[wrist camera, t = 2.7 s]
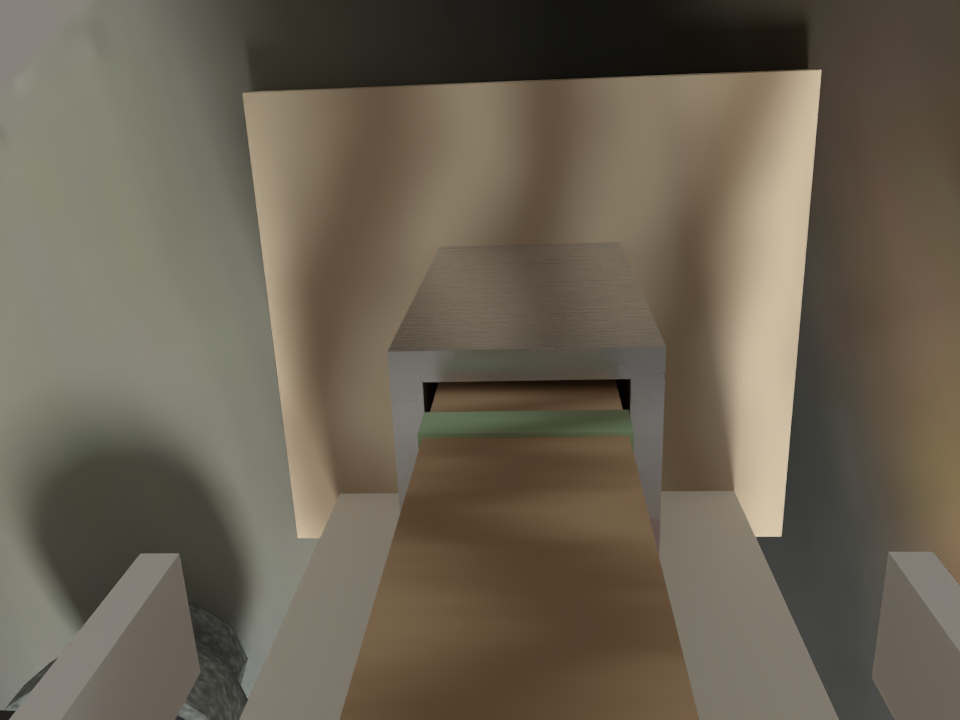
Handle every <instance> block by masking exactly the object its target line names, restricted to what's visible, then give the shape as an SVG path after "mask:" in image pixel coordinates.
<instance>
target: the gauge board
mask: <svg viewBox="0 0 960 720" xmlns="http://www.w3.org/2000/svg"><path fill="white" fill-rule="evenodd" d="M399 516H400V506H399V494H398V493H344V494H339V497H338V499H337V501H336V503H335V506H334V508H333V510H332V512H331V515H330V517H329V519H328V521H327V524H326V526H325V528H324V530H323V533H322V535H321V537H320V539H319V542H318V544H317V546H316V548H315V551H314V553H313V555H312V557H311V560H310V562H309V564H308V566H307V569H306V571H305V573H304V575H303V578H302V580H301V582H300V584H299V587H298V589H297V591H296V593H295V596H294V598H293V600H292V602H291V605H290V607H289V609H288V611H287V614H286V616H285V618H284V620H283V623H282V625H281V627H280V629H279V631H278V634H277V636H276V638H275V640H274V643H273V645H272V647H271V649H270V652H269V654H268V656H267V658H266V661H265V663H264V665H263V667H262V670H261V672H260V674H259V676H258V679H257V681H256V683H255V685H254V688H253V690H252V692H251V694H250V697H249V699H248V701H247V703H246V706H245V708H244V710H243V712H242V715H241V717H240V719H239V720H340V716H341V713H342V709H343V706H344V703H345V699H346V696H347V692H348V689H349V686H350V682H351V679H352V675H353V672H354V669H355V665H356V662H357V658H358V655H359V652H360V648H361V645H362V642H363V638H364V635H365V631H366V628H367V625H368V621H369V618H370V614H371V611H372V608H373V604H374V601H375V597H376V594H377V591H378V587H379V584H380V580H381V577H382V574H383V570H384V567H385V563H386V560H387V557H388V553H389V550H390V546H391V543H392V540H393V536H394V533H395V529H396V526H397V523H398V519H399ZM659 559H660V563H661V567H662V571H663V575H664V579H665V583H666V587H667V591H668V595H669V599H670V603H671V607H672V611H673V616H674V620H675V624H676V628H677V632H678V636H679V640H680V644H681V648H682V652H683V656H684V660H685V664H686V668H687V672H688V676H689V680H690V684H691V689H692V693H693V697H694V701H695V705H696V709H697V713H698V717H699V720H839V719H838V717H837V715H836V712H835V710H834V708H833V706H832V704H831V702H830V699H829V697H828V695H827V693H826V691H825V688H824V686H823V684H822V682H821V680H820V677H819V675H818V673H817V671H816V669H815V667H814V664H813V662H812V660H811V658H810V656H809V653H808V651H807V649H806V647H805V645H804V642H803V640H802V638H801V636H800V634H799V631H798V629H797V627H796V625H795V623H794V621H793V618H792V616H791V614H790V612H789V610H788V607H787V605H786V603H785V601H784V599H783V596H782V594H781V592H780V590H779V588H778V585H777V583H776V581H775V579H774V577H773V575H772V572H771V570H770V568H769V566H768V564H767V561H766V559H765V557H764V555H763V553H762V550H761V548H760V546H759V544H758V542H757V539H756V537H755V535H754V533H753V531H752V529H751V526H750V524H749V522H748V520H747V518H746V515H745V513H744V511H743V509H742V507H741V504H740V502H739V500H738V498H737V496H736V493H735V491H661V515H660V545H659Z"/></svg>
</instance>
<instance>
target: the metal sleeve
mask: <svg viewBox="0 0 960 720" xmlns="http://www.w3.org/2000/svg"><path fill="white" fill-rule="evenodd" d="M387 355H388V368H389V380H390V393H391V405H392V418H393V431H394V443H395V456H396V468H397V481H398V494H399V506H400V512H401V509H402V506H403V502H404V499H405V495H406V492H407V489H408V485H409V482H410V478H411V475H412V472H413V468H414V465H415V461H416V458H417V455H418V451H419V450H418V436H417V434H418V431H419V427H420V424H421V421H422V418H423V414H424V412H430V410H431V407H432V404H433V400H434V397H435V393H436V390H437V387H438V383H439V382H472V381H535V380H598V379H615V380H616V384H617V388H618V393H619V397H620V401H621V405H622V409H623V410H629V414H630V418H631V422H632V426H633V429H634V457H635V461H636V465H637V470H638V474H639V478H640V482H641V486H642V490H643V494H644V498H645V502H646V506H647V510H648V514H649V518H650V522H651V526H652V530H653V534H654V538H655V543H656V547H657V551H658V555H659V545H660V515H661V485H662V454H663V424H664V394H665V364H666V345H665V343H664V341H663V339H662V336H661V334H660V332H659V330H658V327H657V325H656V323H655V321H654V318H653V316H652V314H651V312H650V310H649V307H648V305H647V303H646V301H645V298H644V296H643V294H642V292H641V289H640V287H639V285H638V283H637V281H636V278H635V276H634V274H633V272H632V269H631V267H630V265H629V263H628V261H627V258H626V256H625V254H624V252H623V249H622V247H621V245H620V243H619V242H603V243H566V244H529V245H491V246H454V247H439V249H438V251H437V253H436V255H435V257H434V259H433V261H432V263H431V265H430V267H429V269H428V271H427V273H426V275H425V277H424V279H423V281H422V283H421V285H420V287H419V289H418V291H417V293H416V295H415V297H414V299H413V301H412V303H411V305H410V307H409V309H408V311H407V313H406V315H405V317H404V319H403V321H402V323H401V325H400V327H399V329H398V331H397V333H396V335H395V337H394V339H393V341H392V343H391V345H390V347H389V349H388V351H387Z"/></svg>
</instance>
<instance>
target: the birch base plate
mask: <svg viewBox="0 0 960 720" xmlns="http://www.w3.org/2000/svg"><path fill="white" fill-rule="evenodd" d="M821 71H822V70H813V69H802V70H777V71H752V72H727V73H702V74H677V75H652V76H627V77H602V78H577V79H552V80H527V81H502V82H477V83H452V84H427V85H402V86H377V87H352V88H327V89H302V90H277V91H254V92H247V93H242V95H243V103H244V111H245V119H246V127H247V135H248V143H249V151H250V159H251V167H252V175H253V183H254V191H255V199H256V207H257V215H258V223H259V231H260V239H261V247H262V255H263V263H264V271H265V279H266V287H267V295H268V303H269V311H270V319H271V327H272V335H273V343H274V351H275V359H276V367H277V375H278V383H279V391H280V399H281V407H282V415H283V423H284V431H285V439H286V447H287V455H288V463H289V471H290V479H291V487H292V495H293V503H294V511H295V519H296V527H297V535H298V538H320V537H321V535H322V533H323V530H324V528H325V526H326V524H327V521H328V519H329V517H330V515H331V512H332V510H333V508H334V506H335V503H336V501H337V499H338V497H339V494H344V493H398V481H397V468H396V456H395V443H394V431H393V418H392V405H391V393H390V380H389V368H388V355H387V351H388V349H389V347H390V345H391V343H392V341H393V339H394V337H395V335H396V333H397V331H398V329H399V327H400V325H401V323H402V321H403V319H404V317H405V315H406V313H407V311H408V309H409V307H410V305H411V303H412V301H413V299H414V297H415V295H416V293H417V291H418V289H419V287H420V285H421V283H422V281H423V279H424V277H425V275H426V273H427V271H428V269H429V267H430V265H431V263H432V261H433V259H434V257H435V255H436V253H437V251H438V249H439V247H454V246H491V245H529V244H566V243H603V242H619V243H620V245H621V247H622V249H623V252H624V254H625V256H626V258H627V261H628V263H629V265H630V267H631V269H632V272H633V274H634V276H635V278H636V281H637V283H638V285H639V287H640V289H641V292H642V294H643V296H644V298H645V301H646V303H647V305H648V307H649V310H650V312H651V314H652V316H653V318H654V321H655V323H656V325H657V327H658V330H659V332H660V334H661V336H662V339H663V341H664V343H665V345H666V364H665V394H664V424H663V454H662V485H661V491H735V493H736V496H737V498H738V500H739V502H740V504H741V507H742V509H743V511H744V513H745V515H746V518H747V520H748V522H749V524H750V526H751V529H752V531H753V533H754V535H755V537H781V536H782V524H783V513H784V501H785V489H786V478H787V466H788V454H789V443H790V431H791V420H792V408H793V396H794V385H795V373H796V362H797V350H798V338H799V327H800V315H801V303H802V292H803V280H804V269H805V257H806V245H807V234H808V222H809V211H810V199H811V187H812V176H813V164H814V153H815V141H816V129H817V118H818V106H819V94H820V83H821Z"/></svg>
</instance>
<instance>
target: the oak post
mask: <svg viewBox="0 0 960 720" xmlns="http://www.w3.org/2000/svg"><path fill="white" fill-rule="evenodd" d="M417 436H418V450H419V451H418V455H417V458H416V461H415V465H414V468H413V472H412V475H411V478H410V482H409V485H408V489H407V492H406V495H405V499H404V502H403V506H402V509H401V512H400V516H399V519H398V523H397V526H396V529H395V533H394V536H393V540H392V543H391V546H390V550H389V553H388V557H387V560H386V563H385V567H384V570H383V574H382V577H381V580H380V584H379V587H378V591H377V594H376V597H375V601H374V604H373V608H372V611H371V614H370V618H369V621H368V625H367V628H366V631H365V635H364V638H363V642H362V645H361V648H360V652H359V655H358V658H357V662H356V665H355V669H354V672H353V675H352V679H351V682H350V686H349V689H348V692H347V696H346V699H345V703H344V706H343V709H342V713H341V716H340V720H699V717H698V713H697V709H696V705H695V701H694V697H693V693H692V689H691V684H690V680H689V676H688V672H687V668H686V664H685V660H684V656H683V652H682V648H681V644H680V640H679V636H678V632H677V628H676V624H675V620H674V616H673V611H672V607H671V603H670V599H669V595H668V591H667V587H666V583H665V579H664V575H663V571H662V567H661V563H660V559H659V555H658V551H657V547H656V543H655V538H654V534H653V530H652V526H651V522H650V518H649V514H648V510H647V506H646V502H645V498H644V494H643V490H642V486H641V482H640V478H639V474H638V470H637V465H636V461H635V457H634V429H633V426H632V422H631V418H630V414H629V410H623V409H622V405H621V401H620V397H619V393H618V388H617V384H616V380H615V379H598V380H535V381H472V382H439V383H438V387H437V390H436V393H435V397H434V400H433V404H432V407H431V410H430V412H424V414H423V418H422V421H421V424H420V427H419V431H418V434H417Z"/></svg>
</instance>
